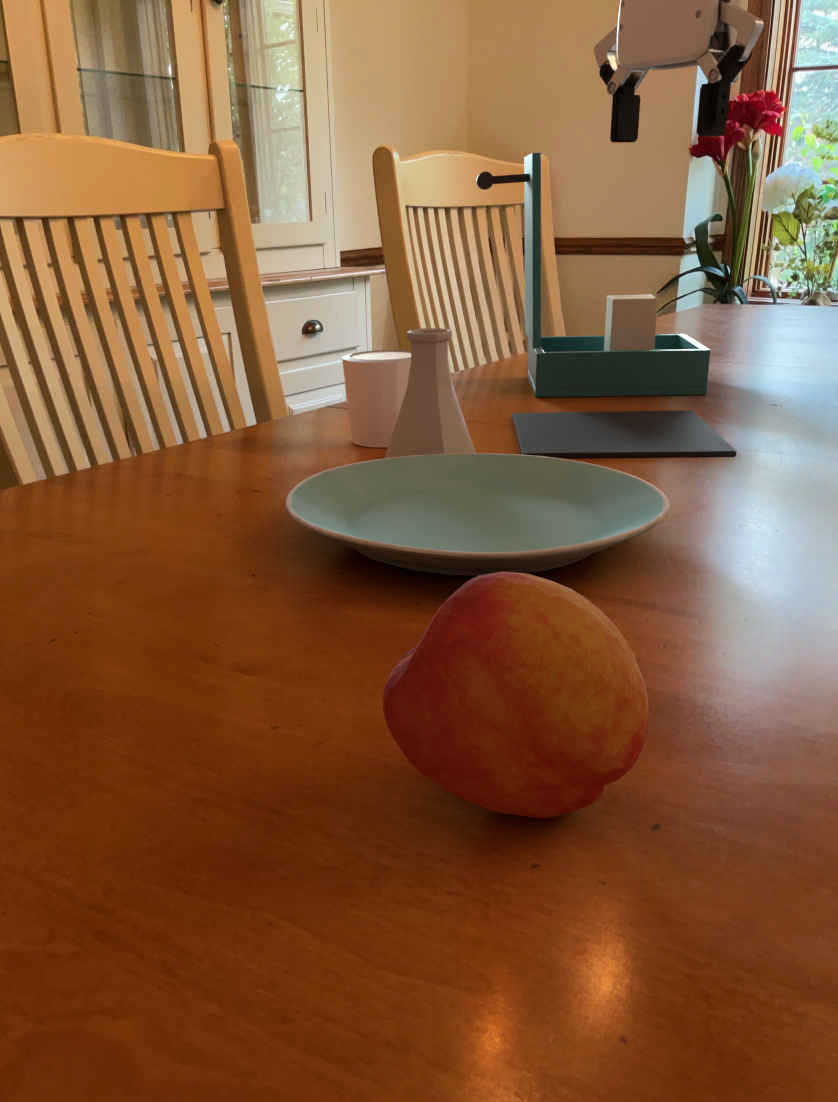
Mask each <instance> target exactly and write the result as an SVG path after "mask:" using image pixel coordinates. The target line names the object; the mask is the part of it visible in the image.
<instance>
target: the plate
mask: <svg viewBox="0 0 838 1102" xmlns="http://www.w3.org/2000/svg"><path fill="white" fill-rule="evenodd" d="M284 504H285V510H286V513H287V514H288V515H289V517H290V518H291V519H292V520H293V521H294V522H295V523H297V524H298V525H299V526H301V527H302V528H304V529H306V530H309V531H310V532H312V533H315V534H318V535H320V536H322V537H325V538H327V539H329V540H331V541H334V542H336V543H338V544H340V545H342V546H344V547H347V548H350V549H352V550H355V551H357V552H358V553H360V554H362V555H363V556H365V557H367V558H369V559H371V560H375V561H377V562H380V563H383V564H387V565H389V566H394V567H398V568H402V569H407V570H411V571H418V572H424V573H430V574H439V575H441V574H442V575H450V576H474V577H477V576H479V575H485V574H491V573H497V572H514V573H524V574H530V573H531V574H532V573H538V572H544V571H549V570H552V569H557V568H561V567H564V566H568V565H572V564H574V563H576V562H579V561H581V560H583V559H586V558H588V557H590V555H593V554H595V553H597V552H600V551H603V550H606V549H608V548H611V547H612V546H615V545H618V544H619V543H620V544H621V542H624V541H628V540H630V539H634V538H636V537H638V536H640V535H643V534H645V533H647V532H649V531H651V530H652V529H654V528H655V527H657V526H658V525H660V524H661V523H662V522H663V521H664V520H665V519H666V517H668V514H669V513H670V511H671V509H670V508H671V503H670V500H669V499H668V497H667V495H666V494H665V493H664V492H663V491H662V490H661V489H659V488H658V487H657V486H655V485H654V484H652V483H650V482H648V481H646V480H645V479H642V478H640V477H638V476H635V475H633V474H630V473H628V472H624V471H622V470H618V469H615V468H611V467H607V466H603V465H600V464H594V463H589V462H585V461H579V460H573V459H569V458H553V457H545V456H534V455H522V454H521V453H520V454H518V453H495V452H494V453H492V452H490V453H488V452H485V453H484V452H480V453H479V452H476V453H454V454H429V455H413V456H402V457H392V458H385V457H384V458H383V457H382V458H377V459H376V458H375V459H369V460H364V461H357V462H353V463H348V464H344V465H339V466H336V467H332V468H329V469H325V470H323V471H320V472H317V473H315V474H313V475H311V476H308V477H306V478H305V479H303V480H302V481H300V482H299V483H297V484H296V485H294V487H293V488H292V489H291V490H290V491H289V493H288V494H287V496H286V498H285V503H284Z"/></svg>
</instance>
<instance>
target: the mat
mask: <svg viewBox="0 0 838 1102" xmlns="http://www.w3.org/2000/svg"><path fill="white" fill-rule="evenodd" d="M512 420H513V424H514V429H515V433H516V437H517V441H518V442H517V443H518V446H519V449H520V455H534V456H545V457H553V458H561V459H575V458H576V459H577V458H578V459H579V458H582V459H587V458H590V459H592V458H673V457H674V458H675V457H676V458H677V457H678V458H679V457H680V458H683V457H685V458H687V457H693V458H694V457H736V456H737V450H736V449H735V448H734V447H733V446H732V445H731V444H730V443H729V442H728V441H726V440H725V439H724V438H723V437H722V436H721V435H719V434H718V432H717V431H715V430H714V429H713V428H712V426H711V425H709V424H708V423H707V422H706V421H705V420H703V418H702V417H700V416H699V414H697V413H696V412H695V411H694V410H691V409H690V410H628V411H626V410H625V411H561V412H560V411H556V412H555V411H554V412H548V411H547V412H546V411H545V412H512Z"/></svg>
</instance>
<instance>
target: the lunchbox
mask: <svg viewBox="0 0 838 1102" xmlns="http://www.w3.org/2000/svg"><path fill="white" fill-rule="evenodd" d="M604 341H605V334H604V335H603V334H602V335H599V334H597V335H558V336H557V335H556V336H554V335H553V336H551V335H550V336H541V348H534V349H533V348H532V346H531V344H530V342H529V340H528V341H527V342H528V343H527V345H528V346H527V352H528V353H527V374H526V375H527V376H526V377H527V379H528V382H529V384H530V388H531V390H532V393H533V395H534V397H535V398H589V397H592V398H593V397H595V398H596V397H597V398H598V397H649V396H650V397H651V396H652V397H653V396H654V397H657V396H661V397H662V396H706V395H707V392H708V380H709V371H710V359H711V349H710V348H708V347H706V346H705V345H703V344H702V343H700V342H698V341H697V340H695V339H694V338H692V337H690V336H689V335H687V334H685V333H655V346H654V350H623V351H604Z"/></svg>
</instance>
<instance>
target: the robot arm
mask: <svg viewBox="0 0 838 1102" xmlns="http://www.w3.org/2000/svg"><path fill="white" fill-rule="evenodd" d="M617 18H618V19H617V25H616V26H615V27H614V28H613V29H612V30H611V31H610V32H608V33H607V34H606V35H605V36H604V37H603V38H602V39H600V41H598V42H597V43H596V44H595V46H594V48H593V52H594V53H593V55H594V56H595V60H596V63H597V66H598V69H599V72H598V74H599V77H600V79H601V80H602V82H603V83H604V85H605V86H606V93H607V94H608V95H609V96H612V99H611V100H612V101H611V117H610V119H611V120H610V134H609V141H610V142H611V143H623V144H624V143H625V144H627V143H636V142H637V141H638V139H639V128H640V127H639V126H640V114H641V113H640V112H641V111H640V110H641V94H635V93H636V91H637V90H638V88H639V86H640V85H641V84H642V82H643V80H644V78H645V77H646V75H647V74H648V72H649V70H650V71H651V70H652V71H668V70H677V69H685V68H691V67H699V68H700V70H701V71H702V74H703V76H704V77H705V79H706V80H707V83H702V84H701V85H700V86H701V87H700V88H699V96H698V97H699V98H698V107H697V108H698V109H697V121H696V135H698V136H699V137H723V136H724V135H725V134H726V127H727V122H728V118H729V109H730V108H729V106H730V99H731V98H730V96H731V87H732V85H734V84H735V83H737V81H738V80H739V76H740V72H741V71H742V70H743V68H744V67H745V66H746V65H747V64H748V62H749V61H750V60H751V59H752V57H753V49H754V48H755V47H756V44H757V42H758V40H759V38H760V36H761V34H762V32H763V30H764V27H765V22H764V20H763V19H762V18H760V17H759V16H756V15H754V14H752V13H751V12H749V11H748V10H745V9H743V8H742V7H741V0H620V1H619V9H618V17H617ZM617 63H618V64H617Z"/></svg>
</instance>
